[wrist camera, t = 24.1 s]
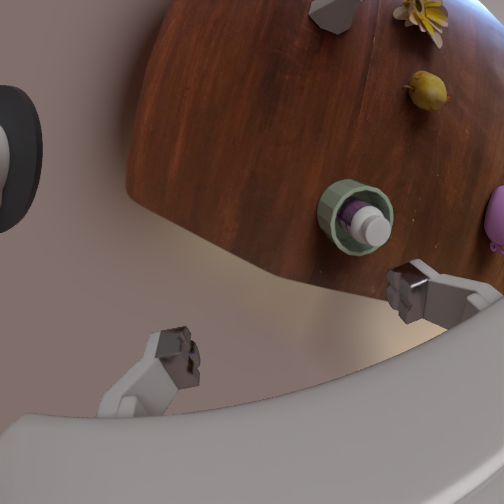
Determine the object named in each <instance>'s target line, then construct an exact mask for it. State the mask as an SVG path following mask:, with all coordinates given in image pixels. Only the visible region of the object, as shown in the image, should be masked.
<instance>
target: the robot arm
mask: <svg viewBox="0 0 504 504" xmlns="http://www.w3.org/2000/svg"><path fill="white" fill-rule="evenodd" d="M9 162H10V153H9V144H8V140H7V136H6V134H5V132H4V130H3V128H2V127H1V126H0V207H1V205H2V192H3V188H4V185H5V183H6V180H7V176H8V171H9ZM386 279H387V280H388V281H389V284H388V286H387V288H386V296H387V300H388V302H389V304H390V306H391V307H392V308H393V309H394V310H398V311H399V316H400V318H401V319H402V320H403V321H404V322H405V323H406V324H409V323H412V322H414V321H417V320H419V319H421V318H423V319H425V320H428V321H430V322H432V323H434V324H436V325H439V326H441V327H443V328H446V329H448V330H447V331H445V332H443V333H442V334H440V335H438V336H436V337H434V338H432V339H430V340H428V341H426V342H424V343H422V344H420V345H418V346H416V347H414V348H412V349H410V350H407V351H405V352H403V353H401V354H398V355H396V356H394V357H392V358H389V359H387V360H385V361H382V362H380V363H377V364H375V365H372V366H370V367H367V368H365V369H362V370H360V371H356V372H354V373H351V374H349V375H345V376H343V377H340V378H337V379H334V380H331V381H328V382H325V383H322V384H318V385H316V386H312V387H309V388H306V389H302V390H299V391H295V392H291V393H287V394H283V395H280V396H276V397H272V398H267V399H263V400H259V401H254V402H249V403H244V404H239V405H234V406H229V407H223V408H217V409H211V410H205V411H197V412H190V413H182V414H172V415H163V414H164V413H165V411H166V410H167V408H168V406H169V405H170V404H171V402H172V400H173V399H174V397H175V396H176V394H177V393H178V391H179V389H184V388H190V387H195V386H199V378H200V373H199V371H198V369H197V368H198V367H199V365H200V355H199V351H198V348H197V346H196V343H195V342H194V341H192V340H190V339H191V333H190V331H189V329H188V328H187V327H186V326H183V327H178V328H173V329H167V330H162V331H157V332H152V333H150V334H149V337H148V340H147V344H146V347H145V351H144V355H143V358H142V360H139V361H138V362H137V363H136V364H135V365H134V366H133V367H132V368H131V369H130V370H129V371H128V372H126V373H125V374H124V375H123V376H122V377H121V378H120V379H119V380H118V381H117V382H116V383H115V384H114V385H113V386H112V387H111V388H110V389H109V390H108V391H107V392H106V393H105V394H104V395H103V396H102V397H101V400H100V404H99V407H98V410H97V413H96V417H95V418H88V417H85V418H84V417H68V416H67V417H66V416H54V415H44V414H37V413H26V414H24V415H22V416H21V417H19V418H18V419H17V420H15V421H14V422H13V423H12V424H11V425H10V426H8V427H7V428H6V429H5V430H4V431H3V432H2V433H1V434H0V504H504V296H503V295H502V294H501V293H500V292H498V291H497V290H496V289H494V288H493V287H492V286H491V285H489V284H487V283H483V282H478V281H474V280H469V279H465V278H460V277H455V276H451V275H446V274H441V275H440V274H438V273H437V272H436V271H434V270H433V269H432V268H431V267H429V266H428V265H427V264H425V263H424V262H423V261H421V260H420V259H415V260H412V261H410V262H407V263H405V264H403V265H400V266H397V267H394V268H392V269H389V270H388V271H387V276H386Z"/></svg>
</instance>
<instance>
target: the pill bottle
mask: <svg viewBox="0 0 504 504" xmlns="http://www.w3.org/2000/svg"><path fill="white" fill-rule="evenodd" d="M335 221H336V222H337V224H338V225H339V226H340V227H341V228H342V229H344V230H345V231H346V232H347V233H348V234H350V235H351V236H352V237H353V238H354V239H356V240H357V241H358V242H360V243H363V244H370V245H371V246H375V247H377V246H381V245H383V244H384V243H385V242H386V241H387V240H388V238H389V236H390V233H391V226H390V223H389V222H388V220H387V219H385V218H384V216H383V214H382V212H381V211H380V210H379V209H377V208H376V207H374V206H372V205H370V204H368V203H366V202H364V201H362V200H360V199H358V198H356V197H354V196H349V197H348V198H347V199H345V200H344V202H343V203H342V205H341V206H340V208H339V209H338V211H337V215H336V219H335Z"/></svg>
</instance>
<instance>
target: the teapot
mask: <svg viewBox="0 0 504 504" xmlns="http://www.w3.org/2000/svg"><path fill="white" fill-rule="evenodd" d="M484 229H485V232H486V234H487V236H488V238H489V239H490V240H491V241H492V242H491V243H490V249H491V250H492V251H493V252H495V251H496V250H497V248H498V250H499V251H500V253H501V254H502V255H503V256H504V251H503V249H502V248H501V247H500V245H501V246H504V186H500V187H498V188H496V189H495V190H494V192H493V193H492V195H491V198H490V200H489V203H488V206H487V209H486V214H485V220H484ZM494 245H495V248H493V246H494Z"/></svg>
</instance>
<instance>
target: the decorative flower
mask: <svg viewBox="0 0 504 504" xmlns="http://www.w3.org/2000/svg"><path fill="white" fill-rule="evenodd" d="M442 4H443V3H442V0H403V6H400V7H398V8H396V9H395V10H394V12H393V15H394V17H395V18H396V19H400V20H406V21H405V27H408V26H412V25H415V24H416V25H418V26H419V28H420V29H421V31H422V32H427V33H428V35H429V36H430V38H431V39H432V41H433V42H434V43H435V44H436V45H437V47H438V48H441V46H442V39H441V36H440V34H439V33H438V32H437V30H438V31H439V32H440V33H442V27H441V25H442V26H444V27H448V20H447V18H448V12H447V10H446V8H445V7H443V6H442ZM428 21H429V22H428ZM436 29H437V30H436Z"/></svg>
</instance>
